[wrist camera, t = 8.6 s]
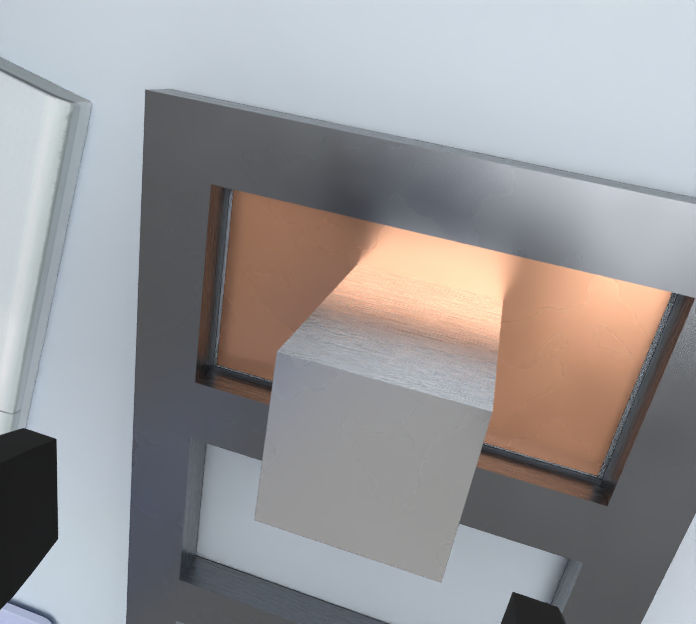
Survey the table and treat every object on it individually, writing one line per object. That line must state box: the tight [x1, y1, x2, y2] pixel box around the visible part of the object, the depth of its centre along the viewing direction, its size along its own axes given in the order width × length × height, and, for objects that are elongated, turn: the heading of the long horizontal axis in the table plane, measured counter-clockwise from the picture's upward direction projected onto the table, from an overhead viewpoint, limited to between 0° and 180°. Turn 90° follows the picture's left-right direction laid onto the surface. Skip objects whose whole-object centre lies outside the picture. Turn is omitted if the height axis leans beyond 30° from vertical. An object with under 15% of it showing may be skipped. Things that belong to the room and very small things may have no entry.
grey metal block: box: [254, 265, 503, 582], centre depth 14 cm, size 4×4×6 cm
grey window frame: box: [126, 89, 696, 624], centre depth 20 cm, size 26×16×1 cm, turn 170°
